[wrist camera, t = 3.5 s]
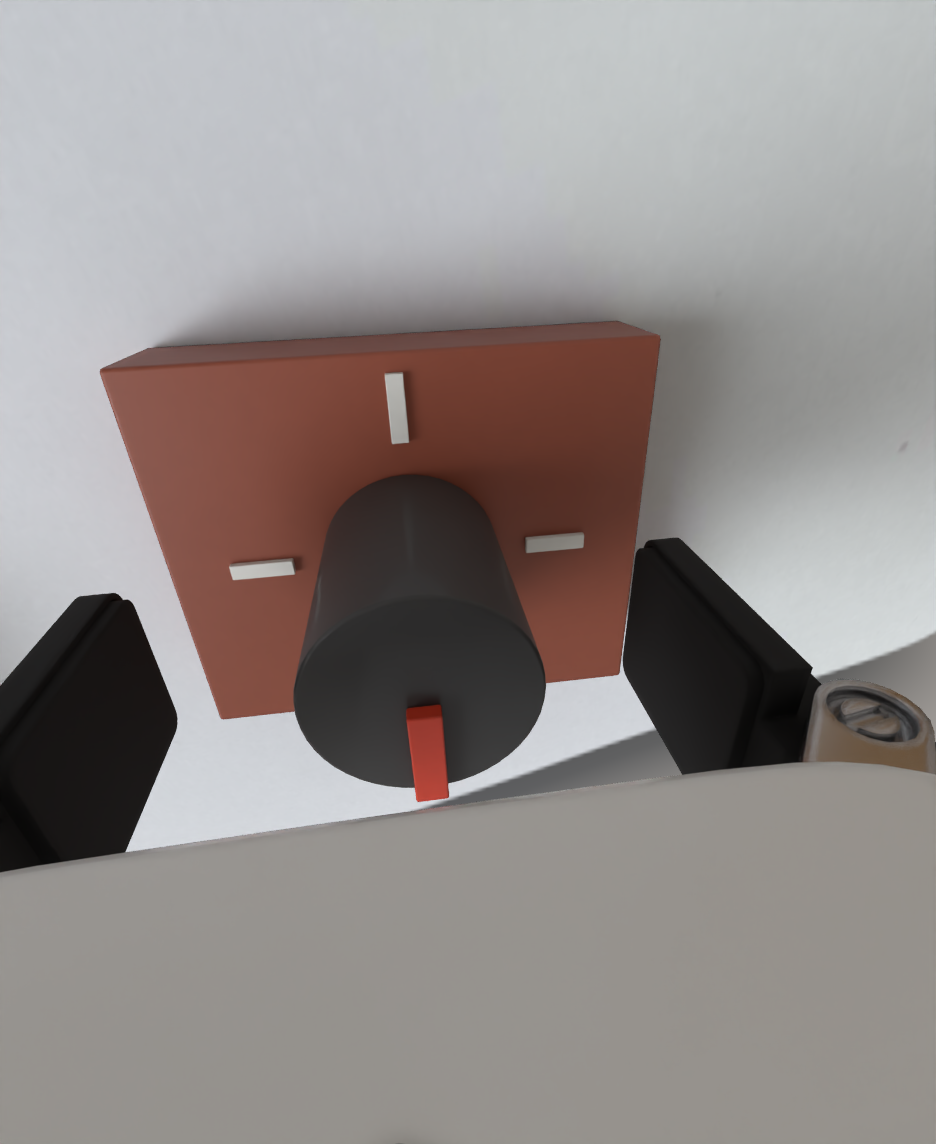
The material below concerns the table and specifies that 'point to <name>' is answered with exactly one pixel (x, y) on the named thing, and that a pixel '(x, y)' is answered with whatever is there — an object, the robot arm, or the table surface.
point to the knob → (416, 641)
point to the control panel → (381, 450)
